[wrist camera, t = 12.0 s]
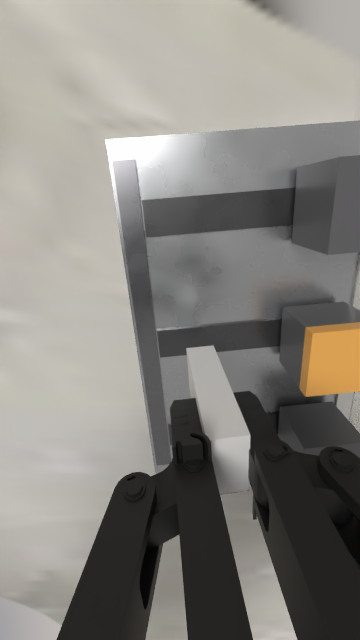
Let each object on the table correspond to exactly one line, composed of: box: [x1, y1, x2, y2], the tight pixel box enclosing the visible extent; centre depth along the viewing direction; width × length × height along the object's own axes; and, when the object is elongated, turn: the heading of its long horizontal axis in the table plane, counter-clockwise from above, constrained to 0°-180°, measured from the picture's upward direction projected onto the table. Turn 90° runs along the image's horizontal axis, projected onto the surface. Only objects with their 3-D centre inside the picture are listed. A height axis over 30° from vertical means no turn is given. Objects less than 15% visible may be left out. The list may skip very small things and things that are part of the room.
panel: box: [106, 121, 360, 472], centre depth 20 cm, size 16×24×2 cm, turn 4°
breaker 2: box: [278, 401, 360, 458], centre depth 21 cm, size 4×4×4 cm
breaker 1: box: [292, 155, 360, 255], centre depth 15 cm, size 4×4×4 cm
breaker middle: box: [279, 301, 360, 397], centre depth 18 cm, size 4×4×4 cm
